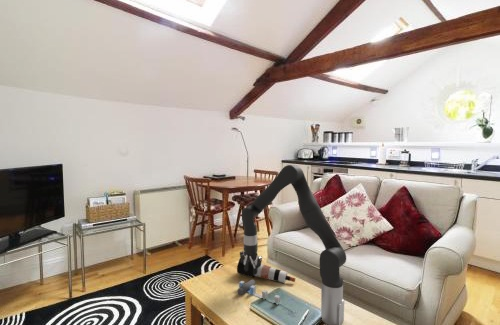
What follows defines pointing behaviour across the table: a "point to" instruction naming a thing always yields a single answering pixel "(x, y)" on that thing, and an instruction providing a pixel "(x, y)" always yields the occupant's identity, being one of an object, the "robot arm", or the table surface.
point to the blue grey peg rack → (253, 292)
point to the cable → (264, 272)
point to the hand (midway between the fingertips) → (250, 272)
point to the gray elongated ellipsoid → (245, 287)
